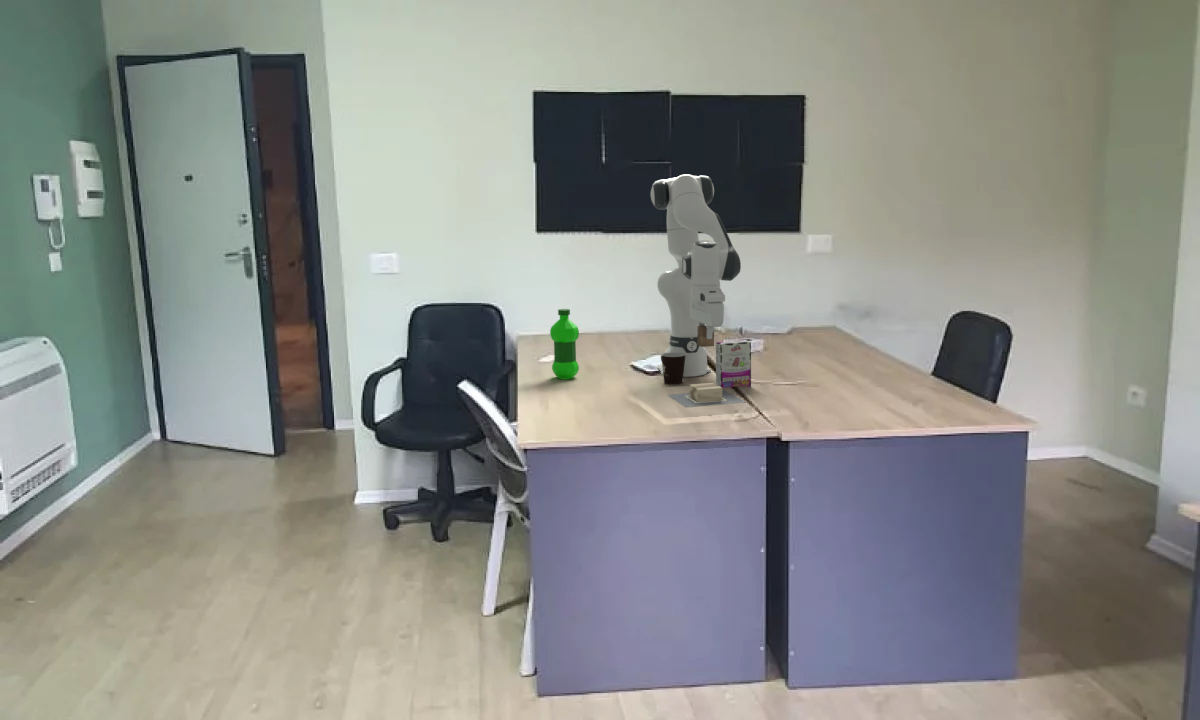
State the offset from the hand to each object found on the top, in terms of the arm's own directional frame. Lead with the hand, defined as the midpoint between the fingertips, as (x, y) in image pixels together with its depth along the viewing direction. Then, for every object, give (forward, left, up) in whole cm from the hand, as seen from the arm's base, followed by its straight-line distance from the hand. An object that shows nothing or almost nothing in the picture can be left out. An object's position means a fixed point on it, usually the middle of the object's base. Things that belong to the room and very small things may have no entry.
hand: (705, 337), depth 294 cm
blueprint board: (0, 0, -21) cm, 21 cm away
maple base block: (0, 0, -20) cm, 20 cm away
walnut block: (0, 0, -3) cm, 3 cm away
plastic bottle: (-53, -34, -21) cm, 66 cm away
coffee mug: (-34, +1, -21) cm, 40 cm away
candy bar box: (-16, +16, -22) cm, 31 cm away
